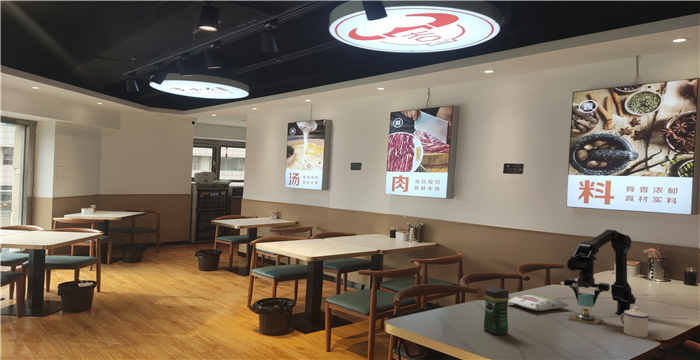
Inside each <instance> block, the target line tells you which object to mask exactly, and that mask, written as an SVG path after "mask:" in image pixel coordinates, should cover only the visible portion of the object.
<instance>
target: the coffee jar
mask: <svg viewBox="0 0 700 360" xmlns="http://www.w3.org/2000/svg"><path fill="white" fill-rule="evenodd" d="M484 291H485V292H484V300H485V307H484V308H485V310H484V320H483V330H484V331H485V330H486V332H488V333H490V334H493V335H500V336H503V335H504V334H505V335H506V334H508V333H509V322H508V320H509V319H508V303H509V302H508V300H509V298H510V296H509V295H510V294H509V291H508V290H507V289H504V288H500V287H498V286H492V285H491V286H486V288H485V290H484Z"/></svg>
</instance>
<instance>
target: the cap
mask: <svg viewBox="0 0 700 360" xmlns="http://www.w3.org/2000/svg"><path fill="white" fill-rule="evenodd" d="M593 300H594V294H593V293H588V292H579V295H578V302H577V305H579V306H582V307H588V308H592V307H594V306H595V304H593Z"/></svg>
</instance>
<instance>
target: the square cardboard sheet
mask: <svg viewBox="0 0 700 360" xmlns="http://www.w3.org/2000/svg"><path fill="white" fill-rule="evenodd" d="M567 320H568V321H573V322H577V323H578V322H579V323H583V324H589V325H594V326H598V325H599V324H600V323H601V322H602V321H603V317H601V316H595V315H593V314H590V309H589V308H582V309H581V313H578V312H574V313H572V314H571V315H570V316H569V317H568V319H567Z"/></svg>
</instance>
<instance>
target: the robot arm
mask: <svg viewBox="0 0 700 360" xmlns="http://www.w3.org/2000/svg"><path fill="white" fill-rule="evenodd" d="M609 242H610V243H611V244H610V245H611V248H612V249H613V251H614V254H615V257H614V258H615V263H614V264H615V281H614V282H613V284H611V285H610V283H607V282H599V283H596V280H595V278H594V273H595V271H594V270H595V269H594V267H595V261H597V259H598V258H597V257H596V255H597V254H598V253H599V252H600V248H602V247H603V246H604V245H606V244H608V243H609ZM631 245H632V239H631V237H630V235H627V234H624V233H621V232H619V231H617V230H615V229H605V230H604V231H603V232H602V233H600V234H598V235H597V236H596V237H594V238H593V239H590V240H584V241H581V242H580V243H579V244H578V246H577V247H576V249H575V252H574V254H573V255H571V256H570V258H568V260H567V262H566V265H567V268H568V269H569V270H570V271H573V272H574V271H579V275H578V278H577V280H576V278H570V277H567V278H564V280H563V286H568V287H569V288H571V289H572V290H573V292H574V296H575V299H576V301H577V303H578V295H579V293H580V288H585V289H589V288H594V289H595V290H594V294H593V295H594V300H593V304H594V305H595V304H596V302H597V300H598V297H599V295H600V293H603V292H609V291H610V293H611V297H612V300H613V301H615V302H616V312H615V315H619V316H620V315H621V314H624V311H625V310H630V309H631V305H634V304H636V300H637V299H636V297H635V296H634V294H633V293H632V287H631V285H630V284H629V282H628V252H629V250H630V249H631V247H632V246H631Z"/></svg>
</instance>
